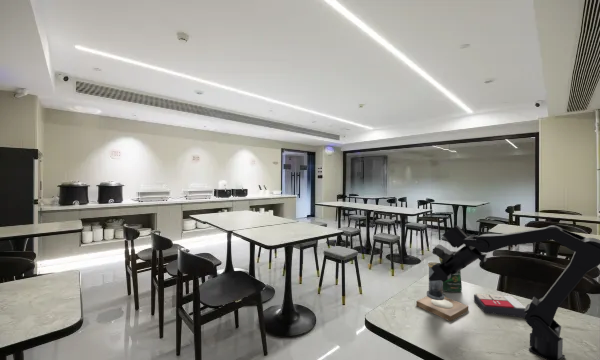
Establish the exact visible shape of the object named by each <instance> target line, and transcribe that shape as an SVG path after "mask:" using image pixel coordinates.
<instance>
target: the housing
mask: <svg viewBox="0 0 600 360" xmlns="http://www.w3.org/2000/svg"><path fill="white" fill-rule="evenodd" d="M437 263H438V262H434V261H433V262H432V261H431V262H428V263H427V265H428V278H429V277H430V276H431V275H432V274H433V273H434V271H433V270H432V268H431V267H432V266H434V265H435V264H437ZM426 296H428V297H429V298H431V299H434V300H444V299H445V297H446V296H445V294H444V290H443V282H442V281H441V280H438V281H430V280H429V279H428V290H427V291H426Z"/></svg>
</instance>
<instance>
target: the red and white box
mask: <svg viewBox="0 0 600 360" xmlns="http://www.w3.org/2000/svg"><path fill="white" fill-rule="evenodd" d="M473 300H474V302H475V303H476V304H477V306H478V307H479V308H480V309H481V311H482V312H483V313H485V314H491V315H492V314H493V315H498V316H499V315H500V316H511V317H517V318H523V319H525V315H526V313H524V311H525V309H526V306H525V305H524V304H522V303H521V302H520V301H519V300H518V299H517V298H515V297H514V296H511V295H510V296H509V295H499V294H489V295H488V294H485V293H475V294H473Z"/></svg>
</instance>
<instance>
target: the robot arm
mask: <svg viewBox="0 0 600 360" xmlns="http://www.w3.org/2000/svg"><path fill="white" fill-rule="evenodd" d="M442 237H443V238H444V240H446V241H447V243H448V244H449V245H450V246H451V247H452V248H457V249H458V250H457V252H456V251H455V250H454V251H455V252H454V253H452V252H451V251H452V250H450V249H448V248H446V247H445V246H444V245H442V244H437V245H435V246H434V248H433V249H432V252H431V253H432V254H433V255H435V256H436V257H438V258H439V257H440V258H442V259H443V260H442V263H440V262H436V263H437V264H435V265H434V266H432V267H431V268H432V270H433V271H434V273H433V274H432V275H431V276H430V277H429V276H428V281H429V280H430V281H438V280H441V281H442V282H445V281H447V280H448V279H449V278H451V275H453V274H455V273H457V272H458V271H462V270H463V269H465V268H466V267H468V266H469V265H472V263H474V262H475V261H478V260H479V261H480V262H481V263H483V264H484V263H485V262H486V261H487V255H488V253H491V252H494V251H498V250H500V249H504V248H506V247H511V246H517V245H518V246H519V245H525V244H531V243H539V242H540V243H541V242H545V241H546V242H548V241H554V242H556V243H558V244H560V245H562V246H563V247H566V248H567V249H568V250H570V251H572V252H574V253H573V255H572V257H571V260H570V262H569V263H568V264H567V266H566V267H565V269H564V270H563V272H561V274H560V275H559V276H558V278H557V279H556V280H555V282H554V283H553V284H552V285H551V286H550V288H549V289H548V291H547V292H546V293H545V295H544V296H543V297H541V298H539V299H538V298H537V297H536V296H533V297H532V299H531V302H530V303H528V304H527V305H526V306H525V307H526V309H525V311H524V313H526V315H525V318H524V320H525V322H526V324H527V325H528V326H529V327H530V328H531V333H529V348H528V351H529V352H531V353H534V354H536V355H537V356H539V357H541V358H543V359H545V360H563V359H565V358H566V355H564V354H563V349H564V348H563V347H564V346H563V342H564V341H563V340H564V338H563V337H561V332H562V331H561V330H562V326H561V325H560V324H559V323H558V322H557V320H555V319H554V318H555V316H556V313H557V310H558V308H560V306H561V305H562V304H563V303H564V301H565V300H566V299H567V298H568V297H569V295H570V294H571V292H573V290H574V289H575V288H576V287H577V285H579V283H580V281H582V279H583V278H584V277H585V276H586V274H587V273H589V272H590V271H592V270H594V269H596V268H598V266H600V239H598V238H594V237H586V236H583V235H581V234H578V233H576V232H572V231H569V230H567V229H564V228H562V227H560V226H557V225H548V226H546V227H540V228H535V229H534V228H533V229H528V230H527V229H526V230H522V231H517V232H516V231H515V232H510V233H483V234H480V235H479V236H478V235H469V236H468V235H467V234H466V233H465V232H464V231H463V230H462V228H461V227H460V226H459V225H455V226H453V227H452V228H450V229H448V230H447V231H445V232H444V233H442ZM462 246H463V247H462ZM460 247H461V248H460ZM459 248H460V249H459Z"/></svg>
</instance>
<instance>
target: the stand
mask: <svg viewBox="0 0 600 360" xmlns="http://www.w3.org/2000/svg"><path fill="white" fill-rule="evenodd" d="M415 304H416V307H419V308H421V309H423V310H425V311H426V312H430V313H431V314H434V315H435V316H438V317H439V318H440V317H441V318H442V319H444V320H446V321H448V322H452V321H453V320H455V319H457V318H459V317H461V316H462V315H464V314H466V313H467V312H469V305H467V304H464V303H462V302H459V301H456V300H454V299H452V298H449V297H447V296H445V299H444V300H434V299H431V298H429V297H428V296H427V295H426V296H424V297H422V298H419V299H417V300H416V303H415Z"/></svg>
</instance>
